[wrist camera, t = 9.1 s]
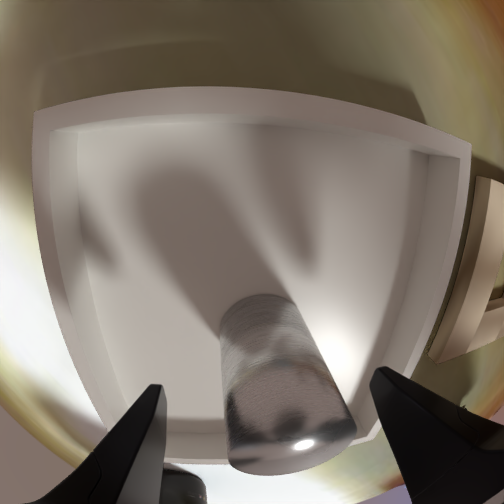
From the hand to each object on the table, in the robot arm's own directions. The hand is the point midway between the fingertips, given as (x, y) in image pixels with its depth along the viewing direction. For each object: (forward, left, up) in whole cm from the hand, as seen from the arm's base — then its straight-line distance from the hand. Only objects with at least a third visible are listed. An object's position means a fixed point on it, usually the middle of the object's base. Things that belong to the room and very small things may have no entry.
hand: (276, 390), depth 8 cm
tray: (0, 0, -4) cm, 4 cm away
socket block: (+2, -18, -4) cm, 19 cm away
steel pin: (0, 0, -4) cm, 4 cm away
